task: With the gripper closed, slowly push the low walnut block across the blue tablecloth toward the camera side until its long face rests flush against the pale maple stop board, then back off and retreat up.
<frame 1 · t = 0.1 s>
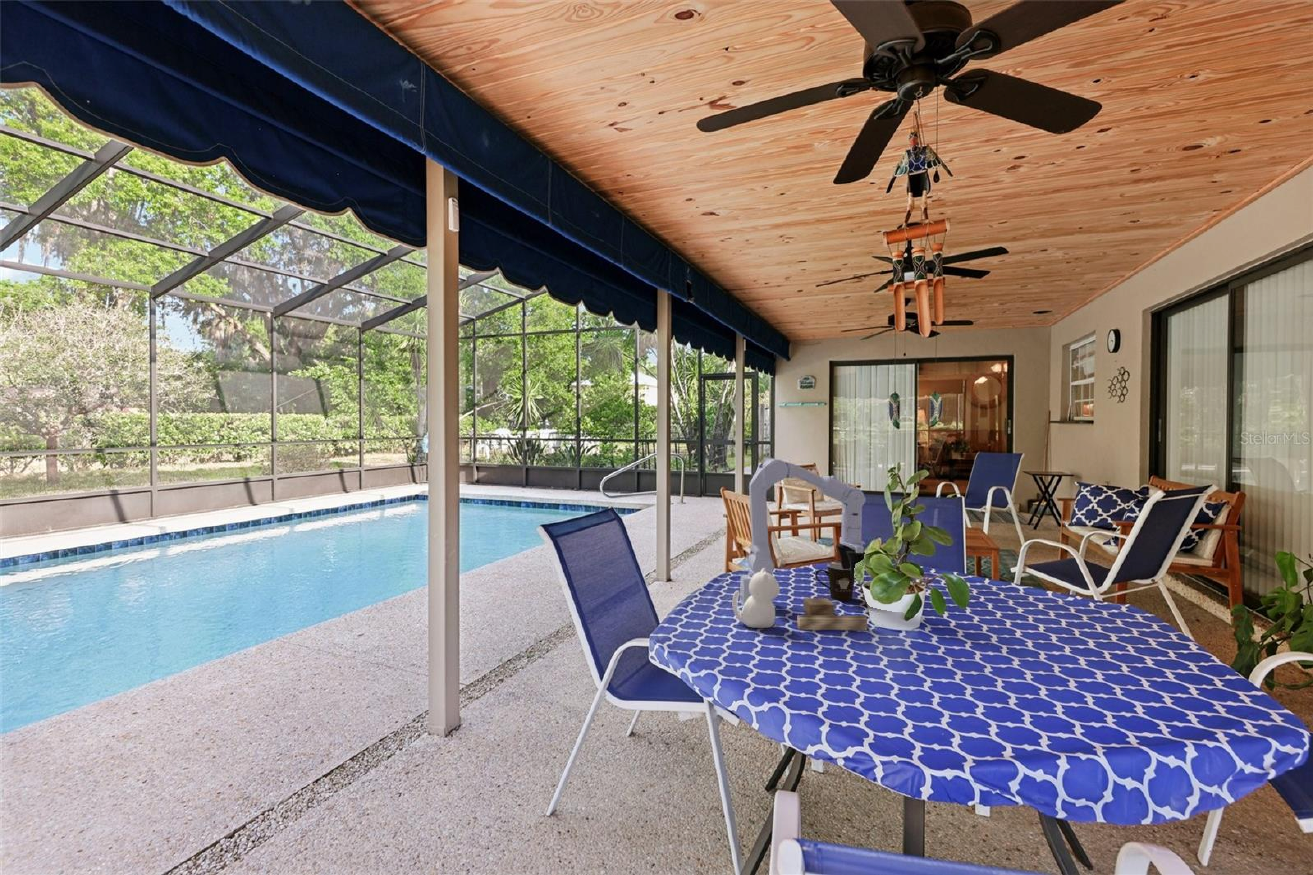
hand: (850, 571, 177), 10 cm above the table, tool pointing down, fingers open, 7 cm apart
cat figurine: (755, 625, 158), on the table
stop board: (831, 628, 156), on the table
walnut block: (818, 615, 168), on the table
coffee mug: (836, 597, 185), on the table
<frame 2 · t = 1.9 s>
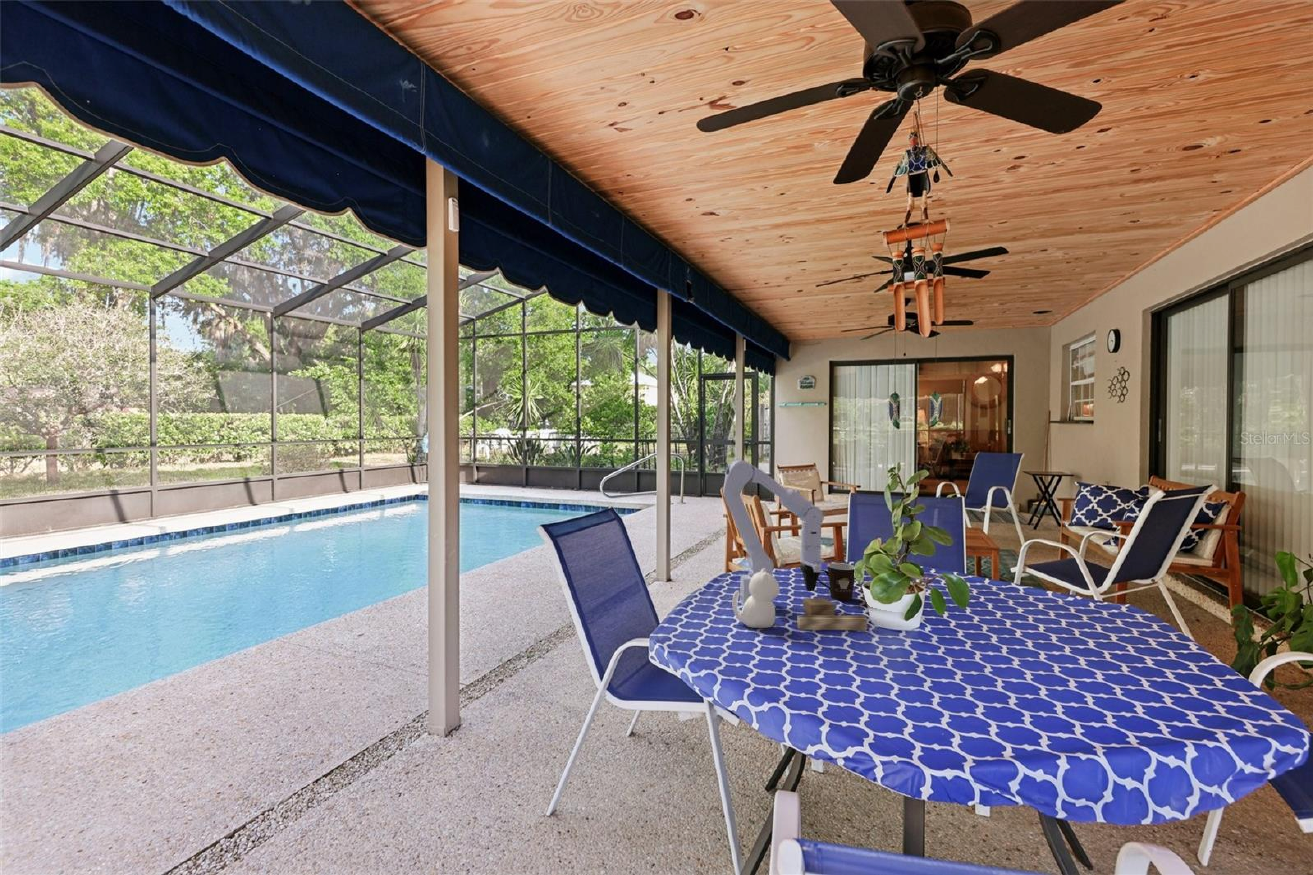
hand: (810, 590, 176), 4 cm above the table, tool pointing down, fingers closed
nothing on the table moved.
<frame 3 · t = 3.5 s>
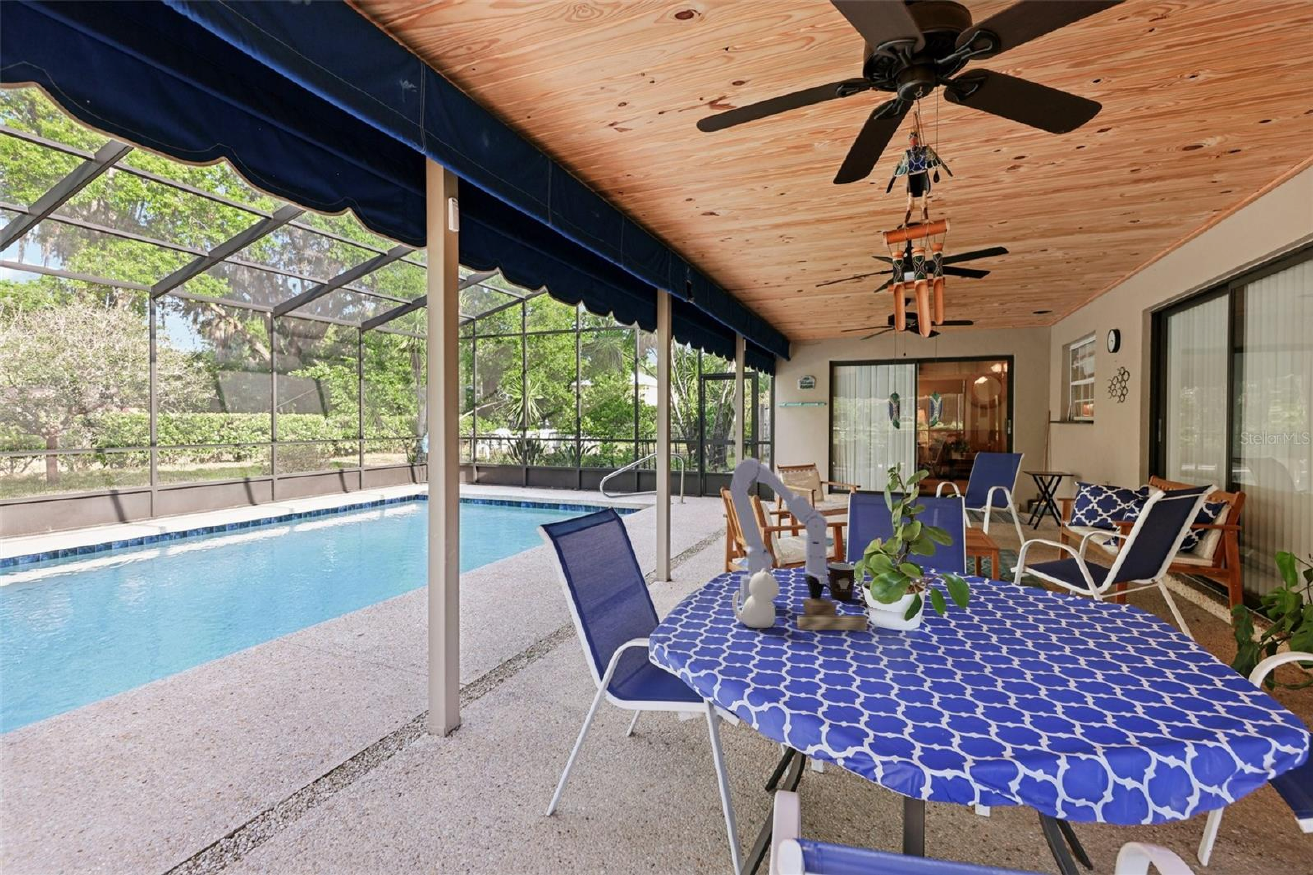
hand: (815, 602, 171), 3 cm above the table, tool pointing down, fingers closed
walnut block: (819, 615, 167), on the table, touching gripper
everything else where it was.
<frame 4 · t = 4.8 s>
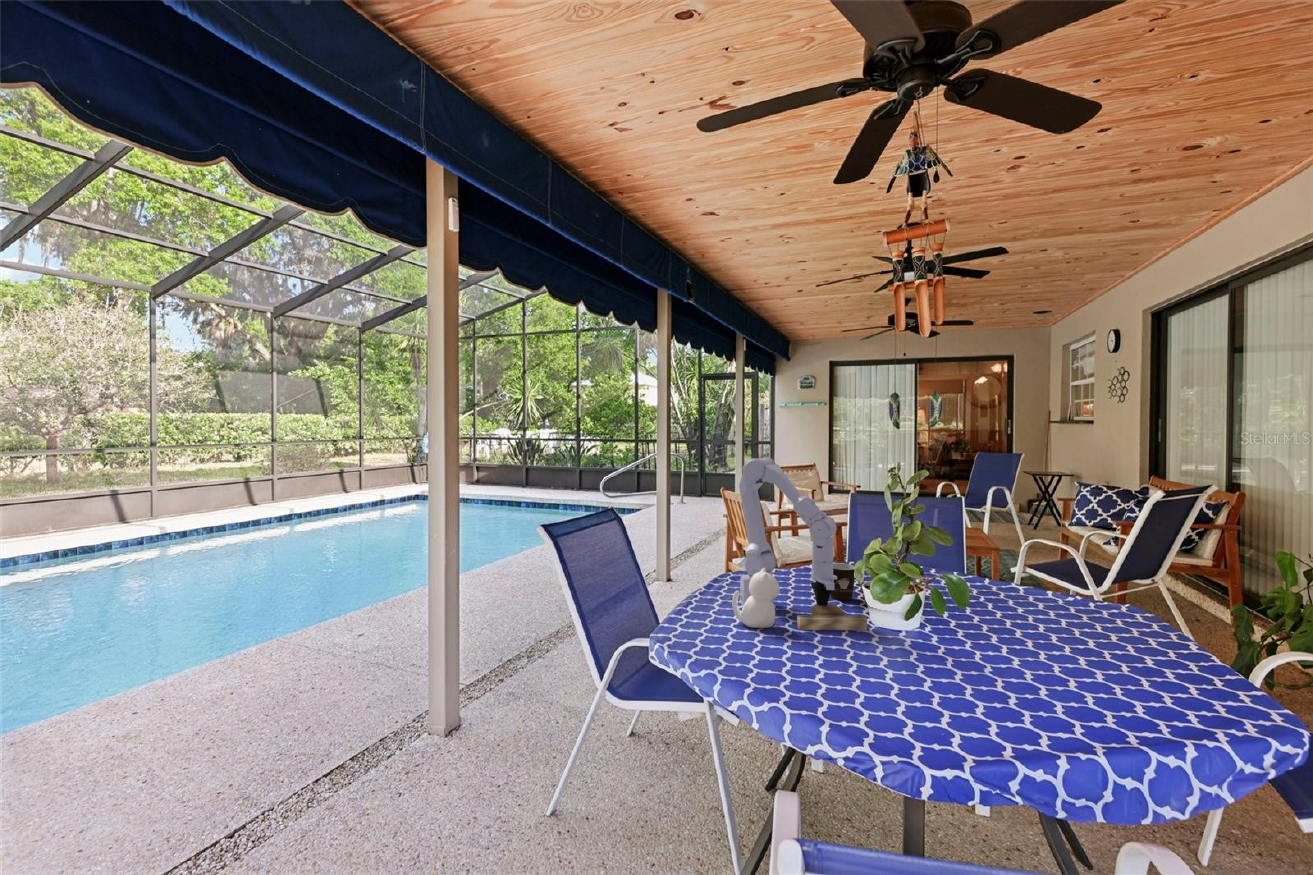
hand: (821, 608, 165), 3 cm above the table, tool pointing down, fingers closed
walnut block: (827, 623, 161), on the table, touching gripper
everything else where it was.
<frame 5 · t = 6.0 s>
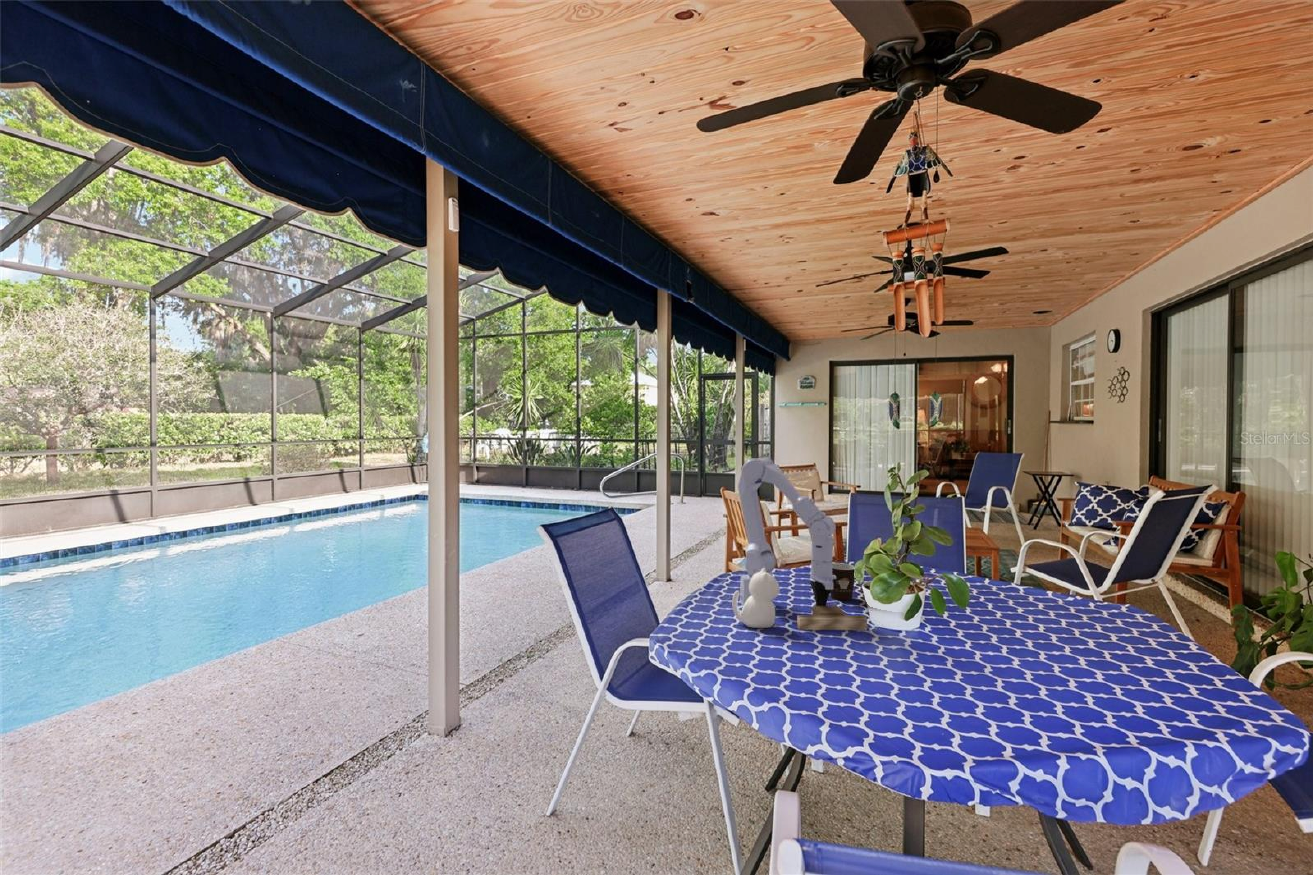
hand: (820, 608, 165), 2 cm above the table, tool pointing down, fingers closed
walnut block: (828, 623, 161), on the table
everything else where it was.
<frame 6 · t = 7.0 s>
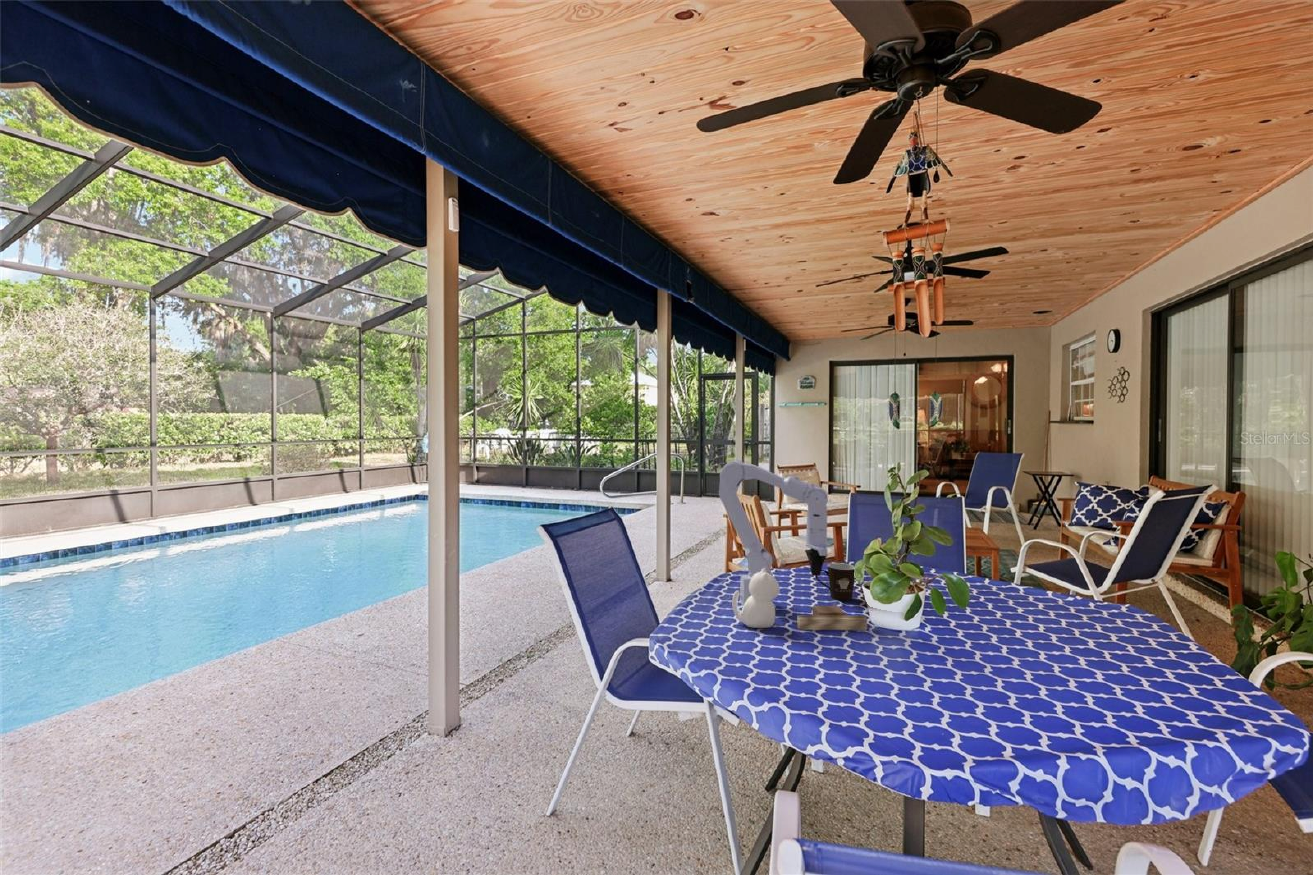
hand: (815, 575, 171), 10 cm above the table, tool pointing down, fingers closed
nothing on the table moved.
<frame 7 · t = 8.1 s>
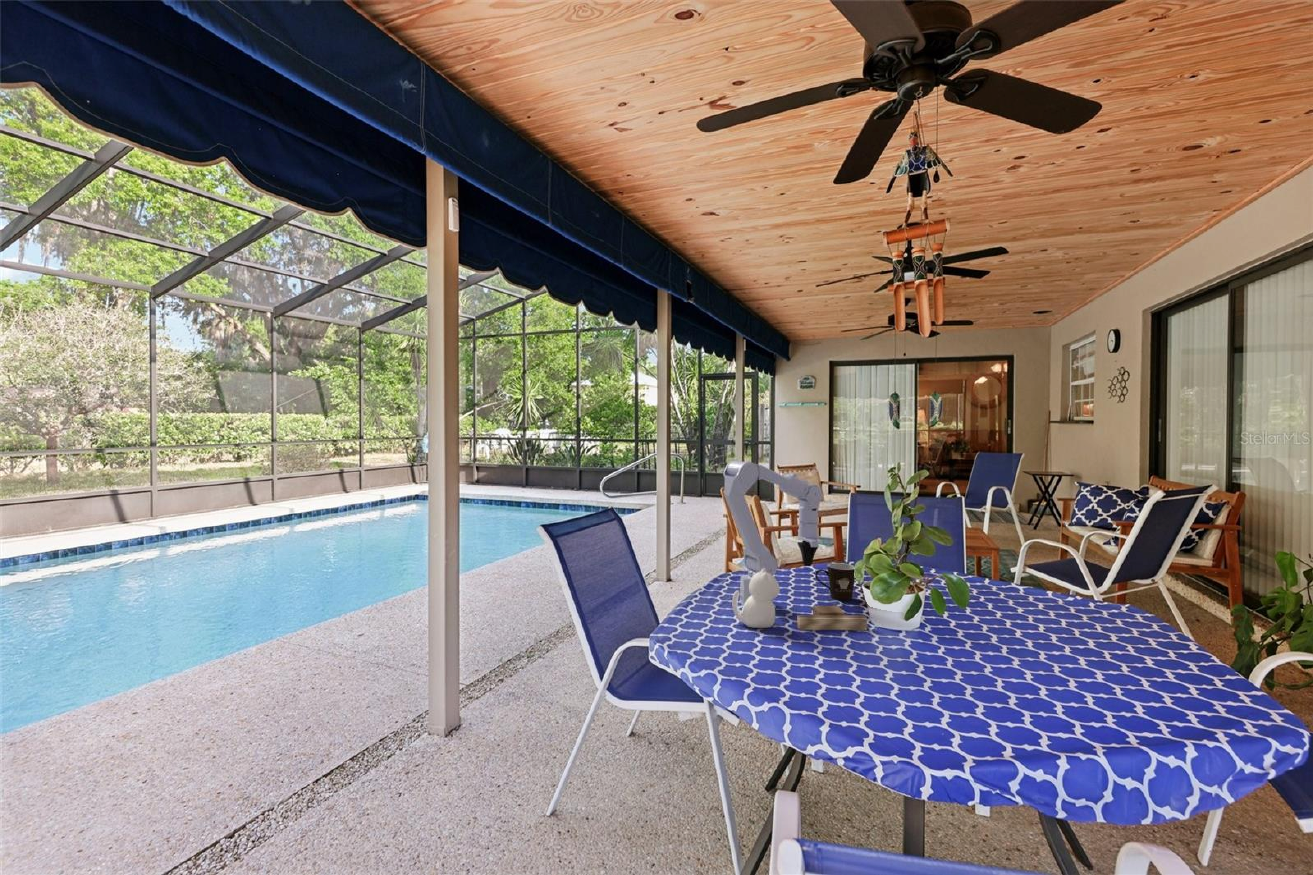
hand: (807, 565, 182), 10 cm above the table, tool pointing down, fingers closed
nothing on the table moved.
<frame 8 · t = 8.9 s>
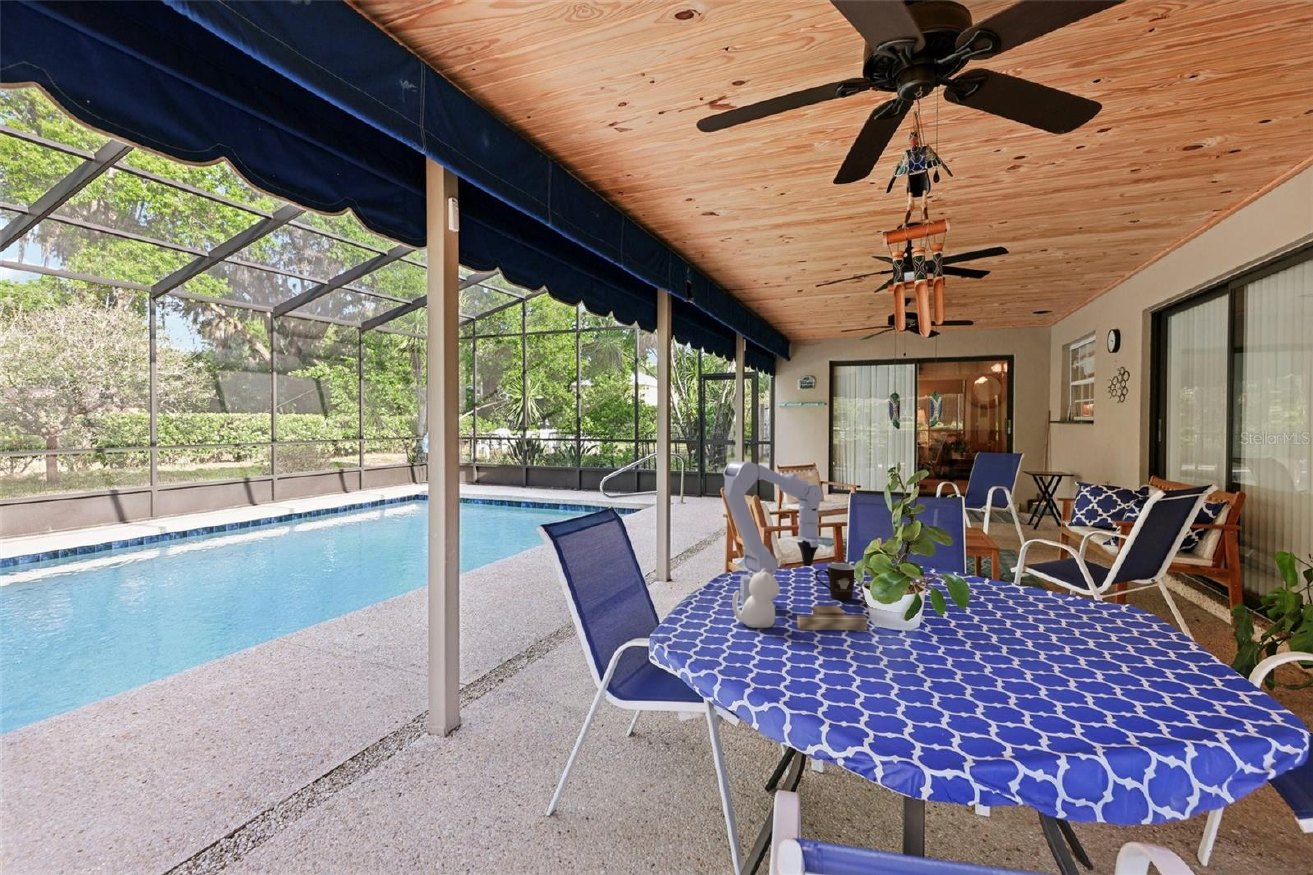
hand: (807, 565, 182), 10 cm above the table, tool pointing down, fingers closed
nothing on the table moved.
at the end: walnut block inside the target area on the table beside the stop board (0.6 cm from its centre), on the table; walnut block tilted 0°; walnut block moved 7.1 cm from its start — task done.
